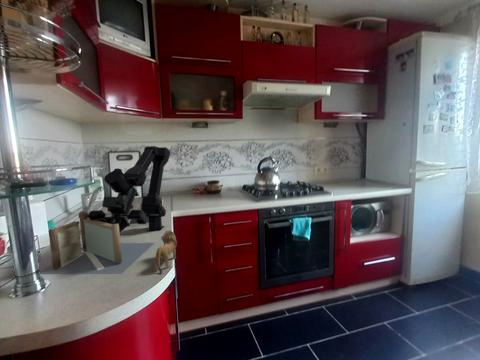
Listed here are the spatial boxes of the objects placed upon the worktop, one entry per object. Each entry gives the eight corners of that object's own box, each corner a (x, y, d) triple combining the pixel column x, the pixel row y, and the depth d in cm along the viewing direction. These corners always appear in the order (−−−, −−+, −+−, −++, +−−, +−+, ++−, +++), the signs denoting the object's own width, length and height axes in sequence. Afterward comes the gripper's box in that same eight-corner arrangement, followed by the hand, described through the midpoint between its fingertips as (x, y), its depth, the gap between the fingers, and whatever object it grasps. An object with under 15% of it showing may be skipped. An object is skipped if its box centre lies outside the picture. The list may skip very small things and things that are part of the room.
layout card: (89, 244, 95) (89, 243, 95) (155, 243, 94) (154, 242, 94) (34, 275, 71) (34, 273, 71) (121, 274, 70) (121, 273, 70)
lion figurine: (163, 255, 83) (161, 229, 82) (179, 254, 84) (177, 228, 83) (152, 276, 69) (149, 245, 68) (171, 275, 69) (169, 244, 68)
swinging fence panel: (91, 249, 88) (88, 216, 87) (123, 261, 77) (120, 224, 76) (85, 251, 86) (82, 217, 85) (117, 264, 75) (113, 225, 74)
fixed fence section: (85, 249, 90) (81, 210, 88) (93, 248, 89) (89, 210, 88) (49, 269, 74) (44, 223, 72) (59, 269, 73) (54, 223, 72)
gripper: (88, 187, 84) (67, 228, 74) (141, 186, 83) (127, 228, 73) (104, 205, 93) (87, 244, 83) (152, 204, 92) (141, 243, 82)
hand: (109, 240), depth 80 cm, fingers closed
